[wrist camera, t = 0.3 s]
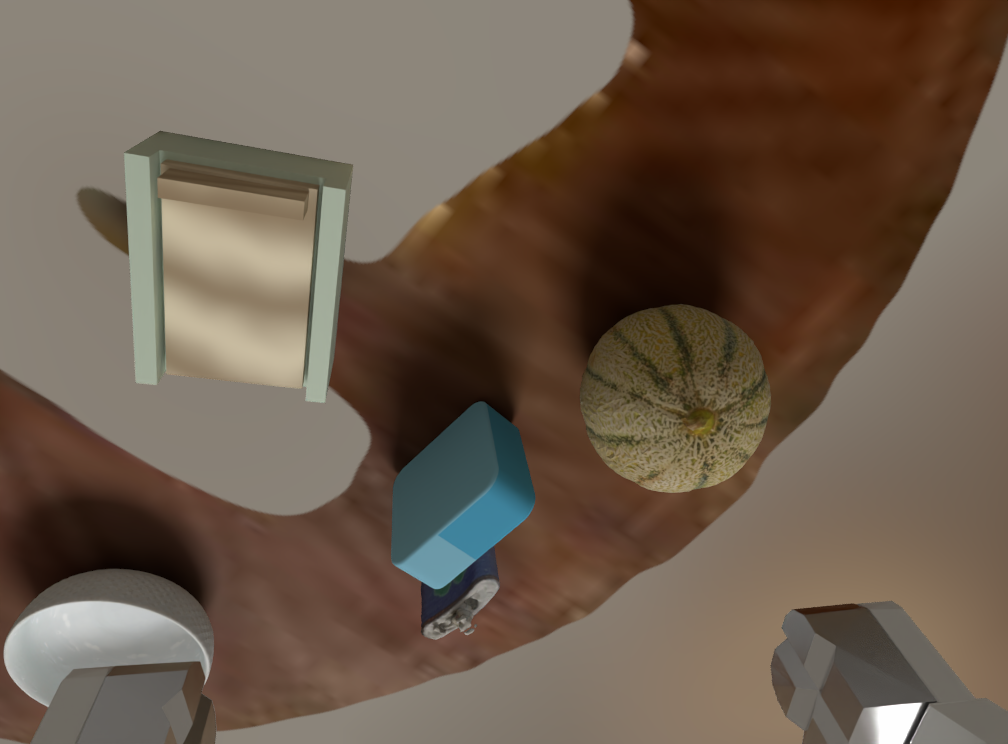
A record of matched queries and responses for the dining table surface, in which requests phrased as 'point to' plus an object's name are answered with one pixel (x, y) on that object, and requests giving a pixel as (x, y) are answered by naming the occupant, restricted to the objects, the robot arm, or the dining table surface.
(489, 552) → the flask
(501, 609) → the dining table surface
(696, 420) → the cantaloupe
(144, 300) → the box
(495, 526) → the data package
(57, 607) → the cereal bowl
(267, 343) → the cover plate
